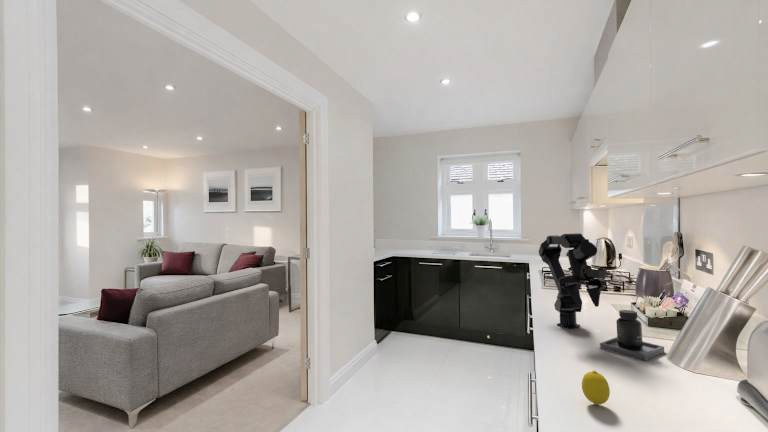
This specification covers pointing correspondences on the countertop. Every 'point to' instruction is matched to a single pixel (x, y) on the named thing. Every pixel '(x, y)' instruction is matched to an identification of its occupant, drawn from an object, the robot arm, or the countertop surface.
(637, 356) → the base plate
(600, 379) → the lemon
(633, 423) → the countertop surface
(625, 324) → the supplement bottle
